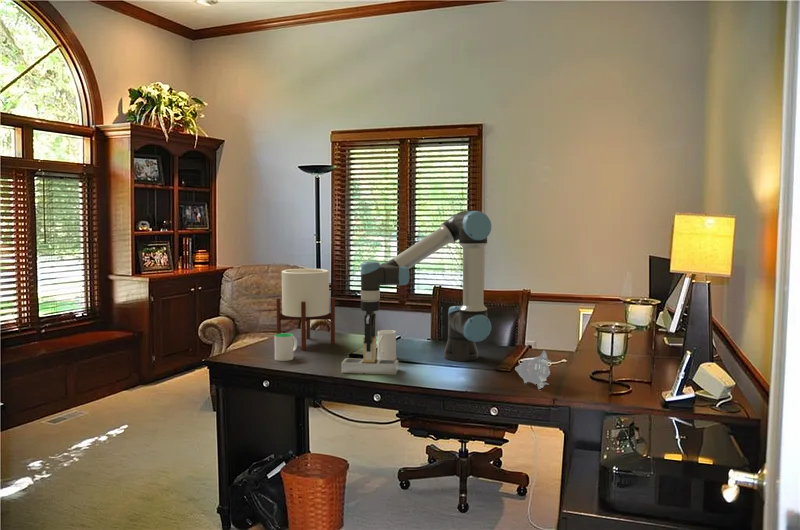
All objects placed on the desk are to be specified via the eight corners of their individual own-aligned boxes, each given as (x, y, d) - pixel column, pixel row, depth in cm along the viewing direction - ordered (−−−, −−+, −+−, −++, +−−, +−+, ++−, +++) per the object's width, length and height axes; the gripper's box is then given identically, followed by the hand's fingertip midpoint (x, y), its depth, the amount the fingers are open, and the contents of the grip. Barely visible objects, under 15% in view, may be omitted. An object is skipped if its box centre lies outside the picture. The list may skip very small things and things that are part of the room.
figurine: (508, 386, 233) (537, 386, 223) (513, 347, 238) (541, 345, 228) (526, 393, 239) (555, 393, 228) (531, 355, 244) (559, 353, 233)
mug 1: (288, 353, 284) (288, 331, 283) (302, 355, 280) (302, 332, 279) (270, 359, 273) (270, 335, 272) (285, 361, 269) (285, 337, 268)
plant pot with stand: (338, 343, 305) (338, 270, 302) (303, 351, 288) (302, 274, 285) (308, 337, 320) (308, 267, 317) (272, 344, 303) (271, 270, 300)
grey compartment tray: (398, 369, 257) (398, 359, 256) (395, 374, 249) (395, 364, 249) (345, 367, 259) (345, 358, 259) (341, 372, 251) (341, 362, 251)
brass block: (376, 360, 256) (376, 336, 255) (374, 363, 251) (374, 338, 250) (365, 360, 256) (365, 336, 255) (363, 362, 252) (363, 338, 251)
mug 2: (386, 363, 267) (386, 335, 266) (369, 360, 272) (369, 333, 271) (400, 357, 277) (400, 330, 276) (383, 355, 282) (383, 328, 281)
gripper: (364, 297, 261) (364, 352, 263) (356, 303, 243) (356, 362, 245) (382, 297, 260) (382, 353, 262) (376, 303, 242) (375, 363, 244)
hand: (369, 357), depth 254 cm, fingers closed on brass block, 4 cm apart
